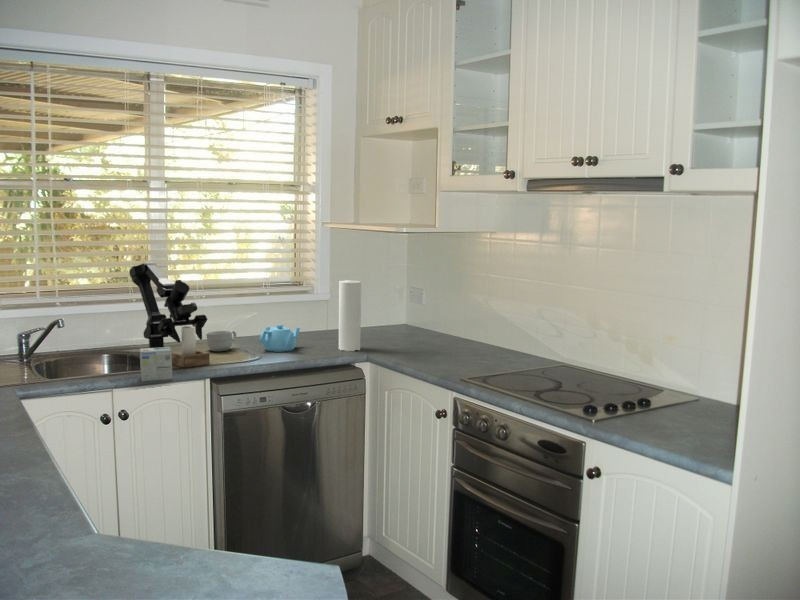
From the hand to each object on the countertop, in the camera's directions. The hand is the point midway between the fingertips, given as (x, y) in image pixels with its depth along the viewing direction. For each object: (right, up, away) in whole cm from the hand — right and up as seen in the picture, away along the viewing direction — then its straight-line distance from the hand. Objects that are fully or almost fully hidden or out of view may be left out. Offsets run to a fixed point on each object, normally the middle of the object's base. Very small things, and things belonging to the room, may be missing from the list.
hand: (190, 340), depth 295 cm
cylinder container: (+59, -6, +36) cm, 70 cm away
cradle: (-1, -9, +2) cm, 9 cm away
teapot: (+29, -6, +34) cm, 45 cm away
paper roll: (-1, -8, +2) cm, 8 cm away
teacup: (+6, -6, +30) cm, 31 cm away
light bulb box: (-6, -13, -23) cm, 27 cm away
